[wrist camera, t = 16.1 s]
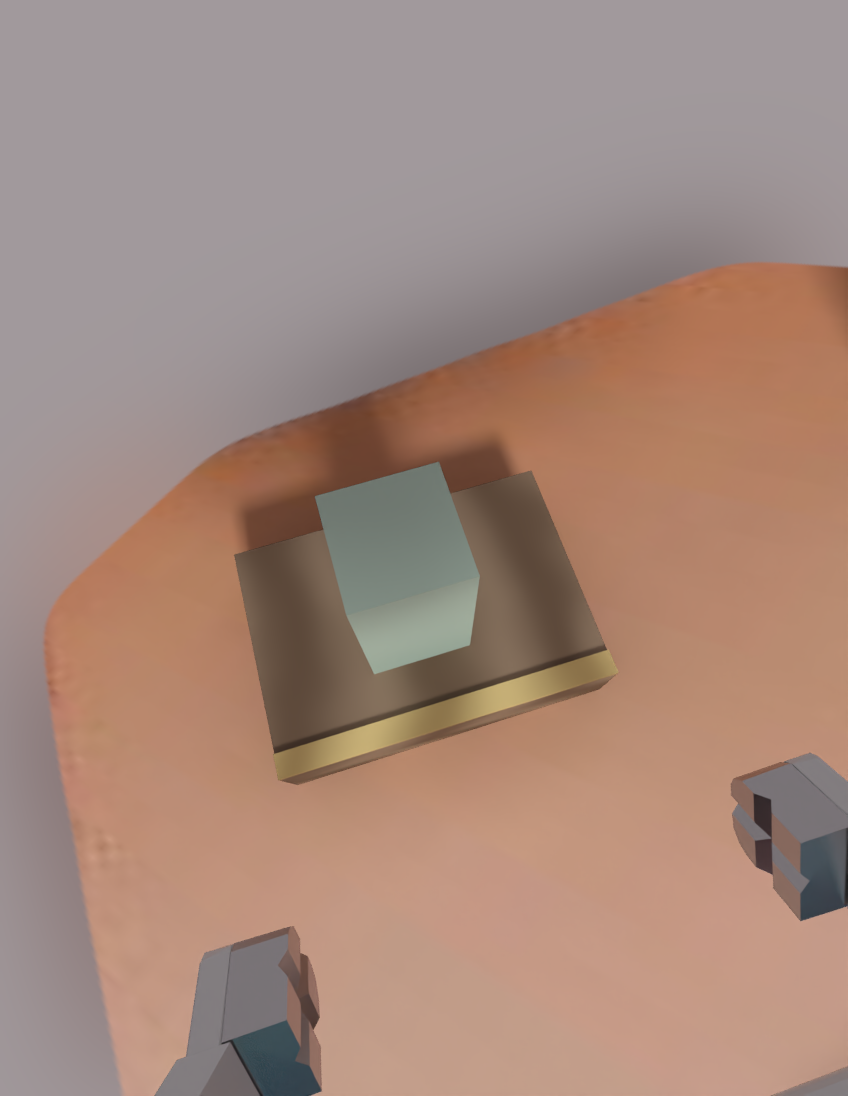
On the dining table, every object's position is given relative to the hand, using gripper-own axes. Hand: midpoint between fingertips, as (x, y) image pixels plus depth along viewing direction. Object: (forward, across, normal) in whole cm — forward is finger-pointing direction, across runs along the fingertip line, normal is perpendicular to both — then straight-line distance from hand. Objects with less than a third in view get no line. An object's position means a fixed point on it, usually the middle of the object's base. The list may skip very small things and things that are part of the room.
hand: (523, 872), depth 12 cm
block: (+22, 0, +6) cm, 22 cm away
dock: (+24, 0, +9) cm, 26 cm away
